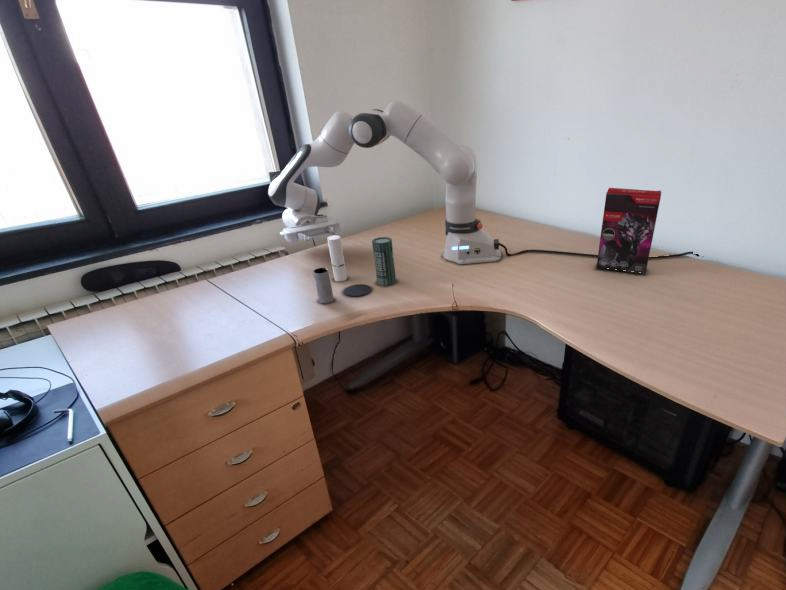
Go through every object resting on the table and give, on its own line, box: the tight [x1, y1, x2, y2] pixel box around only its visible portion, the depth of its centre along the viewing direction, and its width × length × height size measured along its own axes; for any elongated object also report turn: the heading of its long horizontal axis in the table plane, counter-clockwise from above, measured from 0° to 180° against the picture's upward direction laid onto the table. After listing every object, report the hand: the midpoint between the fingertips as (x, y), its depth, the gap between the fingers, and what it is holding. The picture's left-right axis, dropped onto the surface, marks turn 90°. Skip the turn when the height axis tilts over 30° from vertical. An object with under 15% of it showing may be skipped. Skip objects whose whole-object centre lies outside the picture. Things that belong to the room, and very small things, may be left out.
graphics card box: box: [596, 187, 662, 275], centre depth 155 cm, size 17×7×27 cm, turn 68°
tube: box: [326, 235, 348, 282], centre depth 156 cm, size 4×4×15 cm
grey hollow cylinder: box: [312, 267, 334, 304], centre depth 143 cm, size 4×4×10 cm
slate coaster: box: [343, 283, 372, 298], centre depth 151 cm, size 9×9×1 cm
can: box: [371, 236, 397, 287], centre depth 153 cm, size 6×6×15 cm
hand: (320, 235), depth 162 cm, fingers open, 8 cm apart
